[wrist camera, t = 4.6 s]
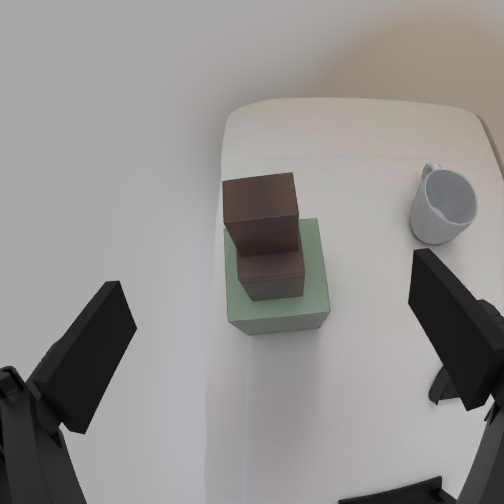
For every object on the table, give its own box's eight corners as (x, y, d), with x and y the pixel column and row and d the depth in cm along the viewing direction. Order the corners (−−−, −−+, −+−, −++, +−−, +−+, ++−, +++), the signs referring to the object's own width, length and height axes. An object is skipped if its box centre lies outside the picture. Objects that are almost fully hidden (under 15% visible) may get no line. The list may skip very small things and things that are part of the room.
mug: (456, 251, 44) (485, 225, 34) (407, 252, 45) (431, 225, 36) (440, 183, 48) (462, 149, 39) (395, 181, 49) (411, 144, 40)
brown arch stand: (252, 301, 31) (219, 251, 18) (247, 241, 34) (217, 160, 20) (303, 296, 31) (308, 241, 18) (295, 235, 33) (293, 150, 20)
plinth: (248, 335, 44) (227, 321, 31) (243, 267, 48) (223, 228, 35) (319, 328, 43) (330, 311, 30) (311, 260, 47) (317, 217, 34)
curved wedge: (419, 364, 39) (423, 363, 38) (487, 328, 39) (492, 326, 37) (433, 414, 36) (437, 416, 34) (500, 375, 36) (505, 374, 34)
